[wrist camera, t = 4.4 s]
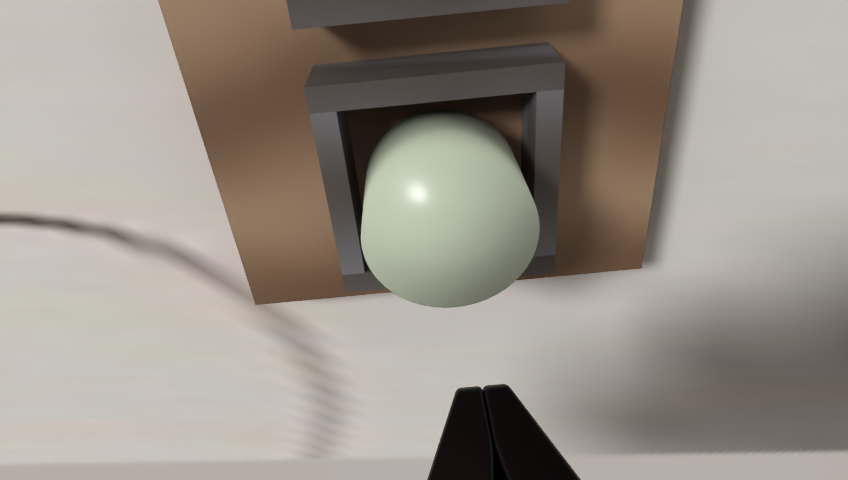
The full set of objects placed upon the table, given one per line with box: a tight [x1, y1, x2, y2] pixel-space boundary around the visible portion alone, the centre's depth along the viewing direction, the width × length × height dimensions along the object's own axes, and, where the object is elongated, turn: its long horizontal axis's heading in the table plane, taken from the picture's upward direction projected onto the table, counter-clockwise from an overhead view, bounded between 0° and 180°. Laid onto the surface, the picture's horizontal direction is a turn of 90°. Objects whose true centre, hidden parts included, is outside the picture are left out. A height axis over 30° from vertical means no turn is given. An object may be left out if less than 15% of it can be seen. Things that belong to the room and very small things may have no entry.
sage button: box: [361, 109, 540, 308], centre depth 15 cm, size 4×4×3 cm
